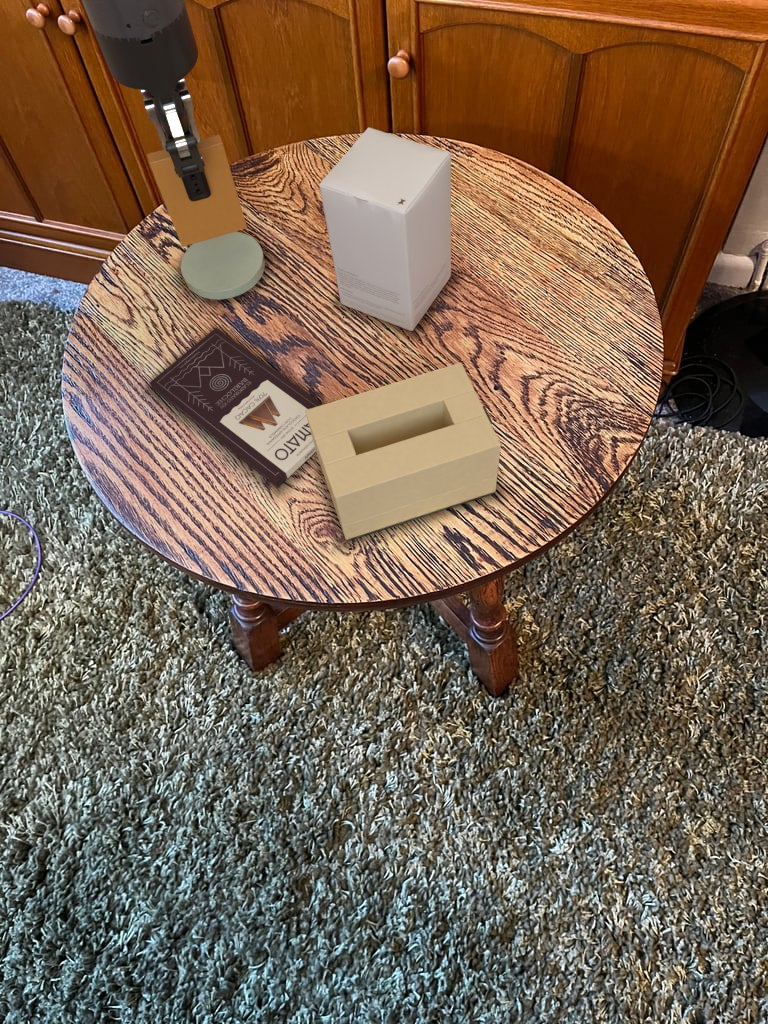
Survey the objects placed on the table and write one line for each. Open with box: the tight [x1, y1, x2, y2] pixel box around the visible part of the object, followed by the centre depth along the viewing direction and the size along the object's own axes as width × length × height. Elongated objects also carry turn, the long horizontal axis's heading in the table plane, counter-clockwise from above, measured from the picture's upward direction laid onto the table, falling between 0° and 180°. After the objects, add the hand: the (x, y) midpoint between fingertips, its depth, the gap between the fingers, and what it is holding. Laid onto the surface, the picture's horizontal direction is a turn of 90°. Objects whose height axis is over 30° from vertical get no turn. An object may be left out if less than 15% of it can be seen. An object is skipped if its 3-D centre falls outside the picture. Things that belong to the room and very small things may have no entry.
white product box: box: [318, 127, 452, 332], centre depth 74 cm, size 9×9×15 cm
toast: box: [146, 134, 248, 248], centre depth 76 cm, size 7×1×10 cm, turn 108°
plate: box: [180, 231, 266, 300], centre depth 84 cm, size 9×9×1 cm
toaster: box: [305, 362, 502, 543], centre depth 67 cm, size 15×9×8 cm, turn 108°
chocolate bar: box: [149, 327, 324, 489], centre depth 75 cm, size 9×1×18 cm
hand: (198, 190), depth 75 cm, fingers closed on toast, 1 cm apart
